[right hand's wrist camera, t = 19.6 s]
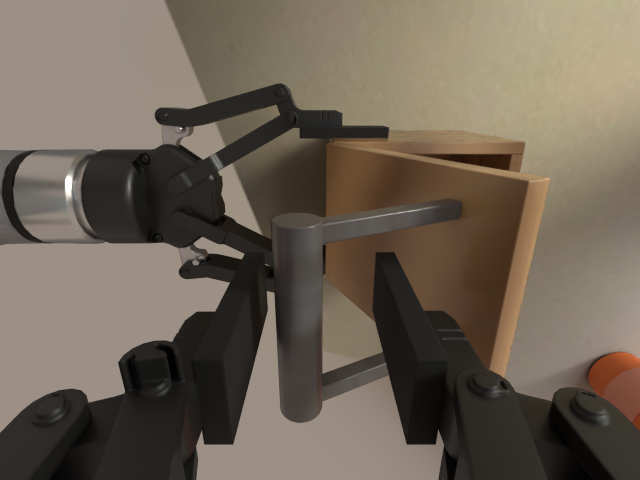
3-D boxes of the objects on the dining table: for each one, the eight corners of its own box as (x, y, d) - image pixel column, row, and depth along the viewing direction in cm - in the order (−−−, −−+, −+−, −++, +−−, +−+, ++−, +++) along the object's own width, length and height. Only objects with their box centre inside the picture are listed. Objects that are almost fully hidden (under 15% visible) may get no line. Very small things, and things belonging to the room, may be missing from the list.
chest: (460, 130, 34) (526, 141, 23) (447, 225, 37) (499, 273, 27) (328, 130, 34) (333, 141, 23) (327, 225, 37) (331, 273, 26)
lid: (551, 177, 12) (312, 211, 8) (498, 403, 15) (314, 501, 11) (341, 142, 23) (203, 149, 19) (338, 275, 26) (220, 303, 22)
